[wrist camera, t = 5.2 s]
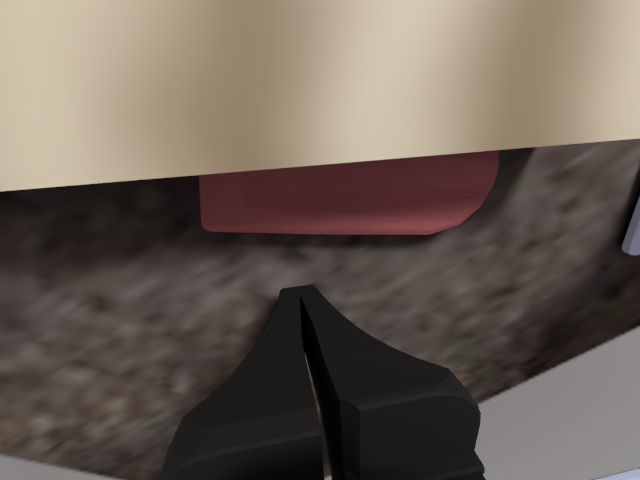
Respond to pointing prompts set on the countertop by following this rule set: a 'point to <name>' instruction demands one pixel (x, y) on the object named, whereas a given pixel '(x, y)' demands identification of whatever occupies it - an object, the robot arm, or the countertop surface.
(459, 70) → the rail
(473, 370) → the countertop surface
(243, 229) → the popsicle
